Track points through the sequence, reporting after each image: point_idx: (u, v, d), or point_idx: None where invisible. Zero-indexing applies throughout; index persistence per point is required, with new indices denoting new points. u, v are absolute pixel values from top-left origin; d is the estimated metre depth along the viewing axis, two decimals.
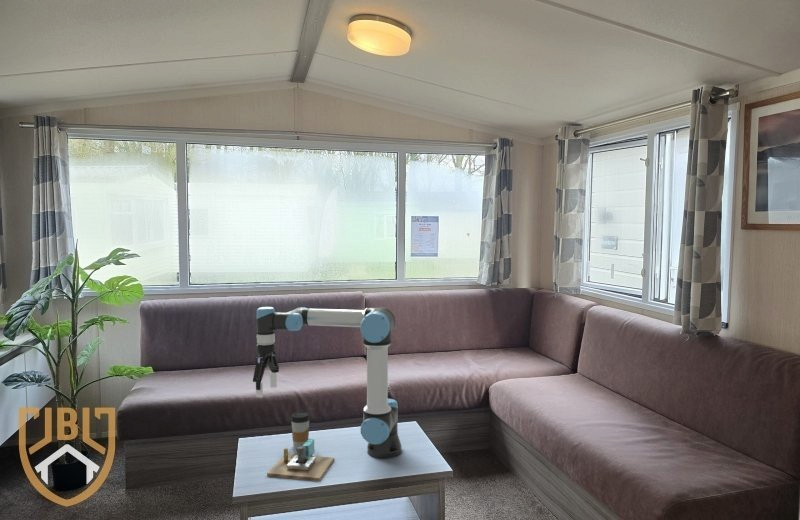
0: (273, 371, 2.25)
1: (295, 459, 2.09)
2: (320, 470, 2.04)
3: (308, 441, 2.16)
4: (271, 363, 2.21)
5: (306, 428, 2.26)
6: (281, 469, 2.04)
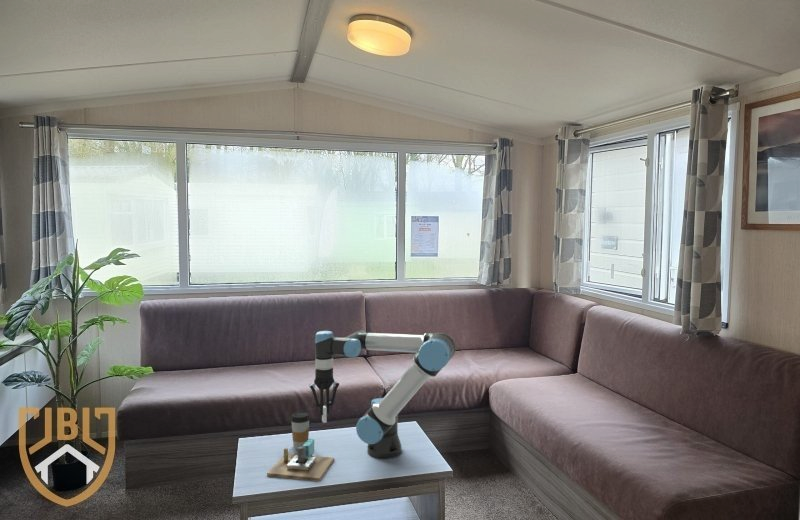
0: (325, 404, 2.17)
1: (295, 459, 2.09)
2: (320, 470, 2.04)
3: (308, 441, 2.16)
4: (326, 391, 2.16)
5: (306, 428, 2.26)
6: (281, 469, 2.04)
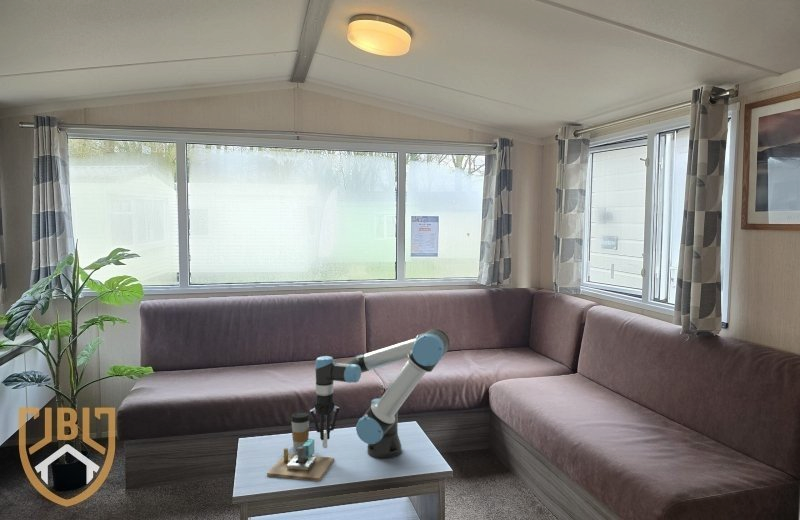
0: (326, 429, 2.18)
1: (295, 459, 2.09)
2: (320, 470, 2.04)
3: (308, 441, 2.16)
4: (326, 416, 2.17)
5: (306, 428, 2.26)
6: (281, 469, 2.04)
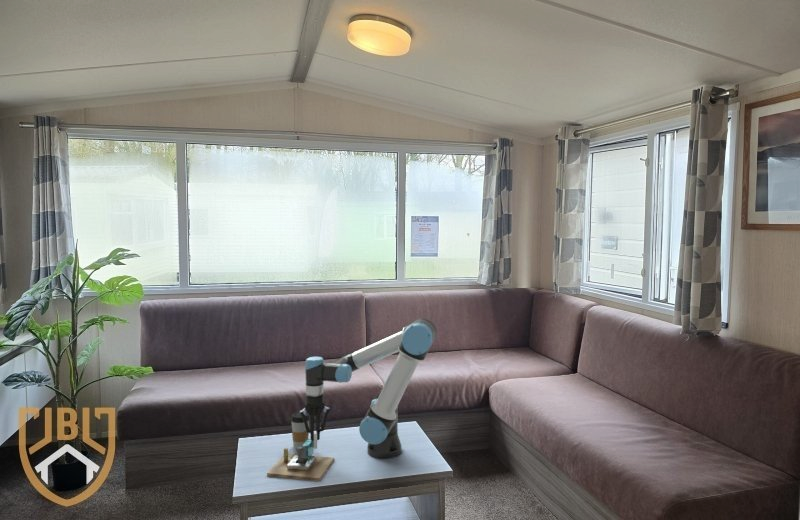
0: (316, 430, 2.17)
1: (295, 459, 2.09)
2: (320, 470, 2.04)
3: (307, 441, 2.16)
4: (316, 417, 2.16)
5: None
6: (281, 469, 2.04)
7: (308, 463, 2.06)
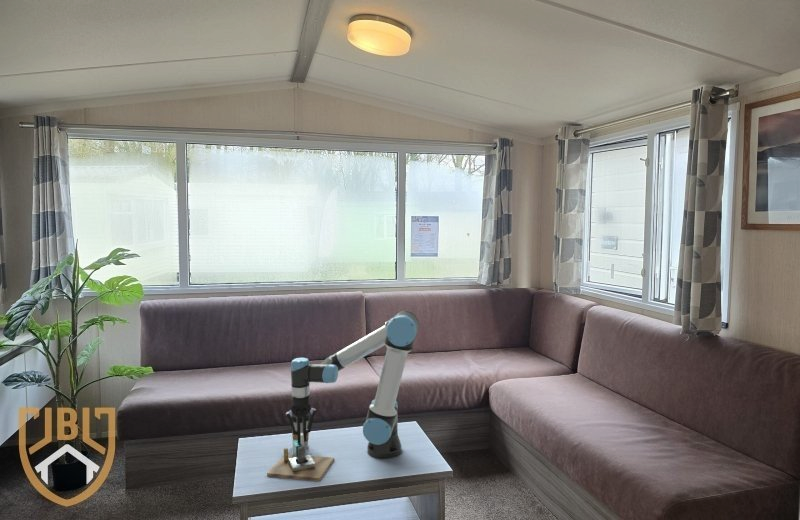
0: (303, 431, 2.16)
1: (293, 461, 2.08)
2: (320, 470, 2.04)
3: (296, 442, 2.16)
4: (303, 418, 2.14)
5: (306, 428, 2.26)
6: (281, 469, 2.04)
7: (311, 461, 2.08)
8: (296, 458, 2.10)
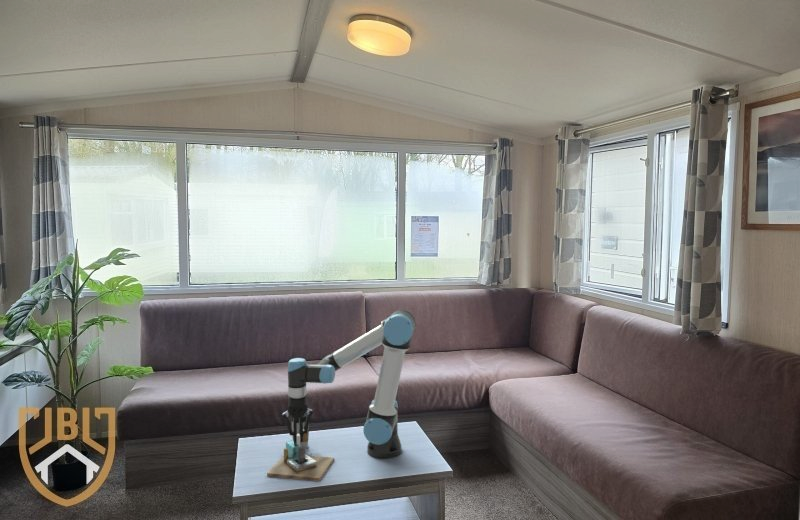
0: (299, 432, 2.15)
1: (294, 462, 2.07)
2: (320, 470, 2.04)
3: (290, 443, 2.14)
4: (299, 419, 2.14)
5: None
6: (281, 469, 2.04)
7: (311, 459, 2.09)
8: (294, 459, 2.10)
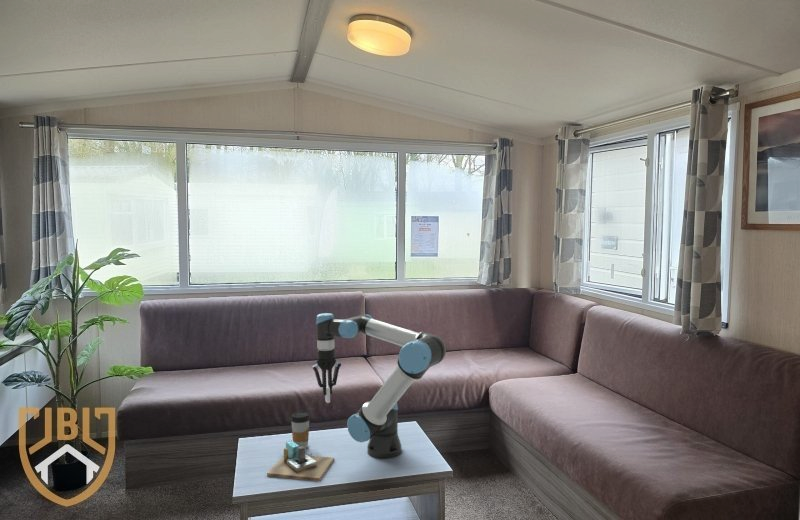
0: (328, 385, 2.23)
1: (294, 462, 2.07)
2: (320, 470, 2.04)
3: (290, 443, 2.14)
4: (328, 371, 2.22)
5: (306, 428, 2.26)
6: (281, 469, 2.04)
7: (311, 459, 2.09)
8: (294, 459, 2.10)
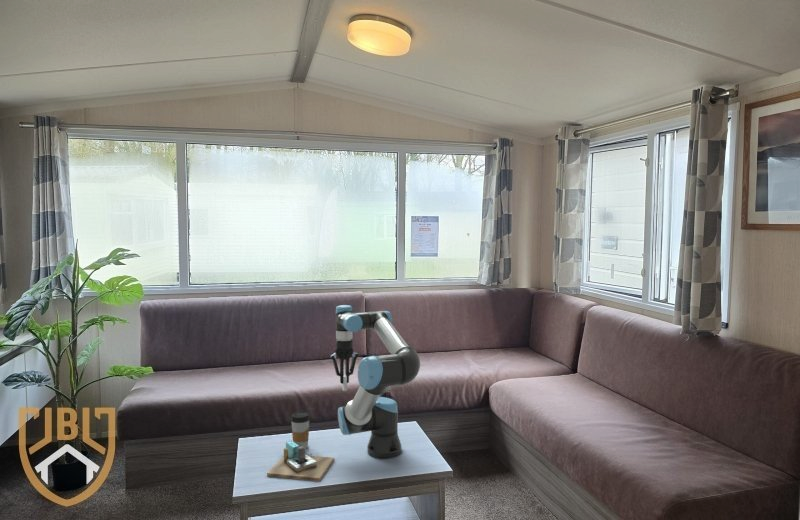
0: None
1: (294, 462, 2.07)
2: (320, 470, 2.04)
3: (290, 443, 2.14)
4: (346, 361, 2.31)
5: (306, 428, 2.26)
6: (281, 469, 2.04)
7: (311, 459, 2.09)
8: (294, 459, 2.10)
